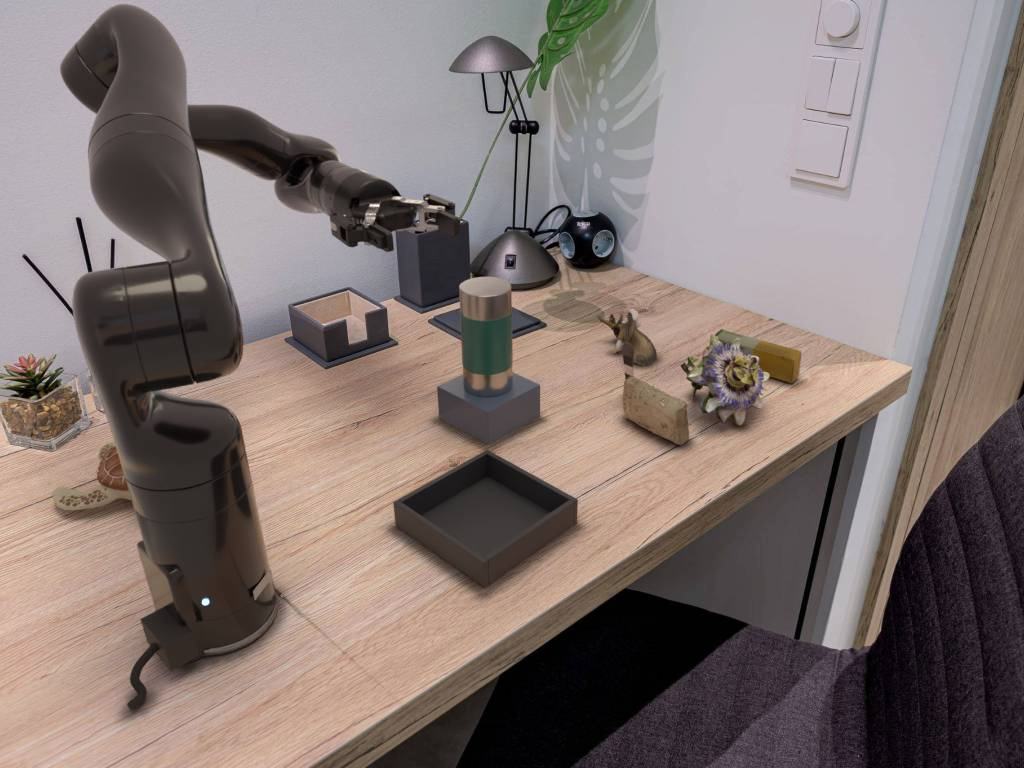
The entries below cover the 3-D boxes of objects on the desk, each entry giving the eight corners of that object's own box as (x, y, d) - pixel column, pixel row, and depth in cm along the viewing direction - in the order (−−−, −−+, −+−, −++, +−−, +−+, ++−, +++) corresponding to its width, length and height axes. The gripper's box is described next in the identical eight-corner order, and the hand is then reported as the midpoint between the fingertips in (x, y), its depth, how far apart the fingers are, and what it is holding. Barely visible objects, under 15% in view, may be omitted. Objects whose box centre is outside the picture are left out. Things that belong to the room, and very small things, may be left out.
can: (487, 402, 97) (484, 300, 91) (452, 385, 101) (447, 286, 94) (523, 384, 101) (522, 285, 94) (488, 368, 105) (485, 272, 98)
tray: (484, 592, 76) (483, 563, 75) (395, 529, 85) (392, 501, 83) (577, 526, 85) (578, 499, 83) (488, 475, 93) (487, 449, 91)
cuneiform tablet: (628, 398, 107) (702, 434, 99) (604, 415, 105) (678, 454, 97) (623, 353, 103) (700, 387, 95) (598, 371, 101) (675, 407, 93)
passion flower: (731, 458, 105) (719, 418, 95) (667, 412, 111) (649, 370, 101) (788, 394, 106) (781, 347, 96) (721, 352, 112) (709, 305, 102)
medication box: (710, 360, 117) (711, 336, 115) (719, 352, 118) (720, 327, 116) (792, 384, 110) (794, 358, 108) (800, 375, 111) (803, 349, 109)
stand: (488, 448, 98) (487, 412, 95) (438, 420, 103) (436, 386, 101) (540, 419, 103) (540, 384, 101) (490, 394, 109) (489, 361, 106)
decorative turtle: (57, 553, 82) (43, 513, 79) (54, 468, 95) (42, 431, 92) (243, 501, 89) (235, 463, 87) (217, 429, 102) (209, 394, 100)
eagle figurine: (584, 339, 120) (615, 354, 112) (605, 295, 120) (638, 306, 112) (623, 358, 124) (656, 373, 116) (643, 315, 123) (678, 327, 115)
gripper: (302, 181, 98) (363, 214, 87) (407, 163, 105) (476, 191, 94) (310, 241, 102) (370, 281, 90) (411, 220, 109) (478, 253, 97)
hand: (424, 235), depth 92 cm, fingers open, 8 cm apart
